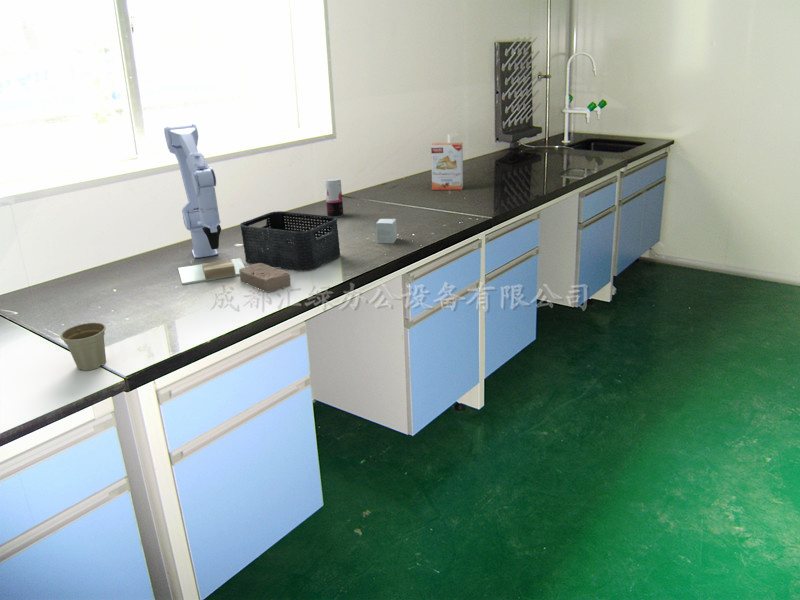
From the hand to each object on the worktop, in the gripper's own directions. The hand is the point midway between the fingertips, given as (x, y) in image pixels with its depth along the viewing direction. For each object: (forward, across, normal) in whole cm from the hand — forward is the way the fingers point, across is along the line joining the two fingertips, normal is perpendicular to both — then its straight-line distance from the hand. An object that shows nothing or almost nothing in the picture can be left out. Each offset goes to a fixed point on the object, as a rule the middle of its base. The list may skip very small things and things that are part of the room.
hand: (214, 248), depth 212 cm
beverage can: (+6, -42, +53) cm, 68 cm away
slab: (+4, +7, -1) cm, 8 cm away
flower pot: (+6, +59, -36) cm, 70 cm away
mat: (+6, +5, -2) cm, 8 cm away
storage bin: (+6, +5, +24) cm, 25 cm away
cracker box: (+6, -61, +113) cm, 128 cm away
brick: (+6, +24, +11) cm, 27 cm away
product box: (+6, +2, +59) cm, 59 cm away
